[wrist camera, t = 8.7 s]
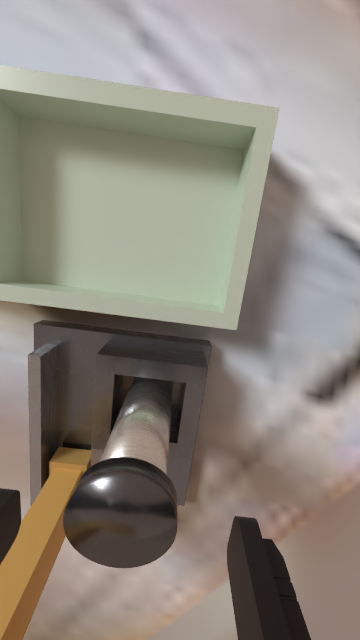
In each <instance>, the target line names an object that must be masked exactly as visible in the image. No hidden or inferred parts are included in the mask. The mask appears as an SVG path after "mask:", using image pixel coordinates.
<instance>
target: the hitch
mask: <svg viewBox="0 0 360 640" xmlns="http://www.w3.org/2000/svg"><path fill="white" fill-rule="evenodd" d="M210 352H211V343H210V341H206V340H198V339H190V338H182V337H174V336H166V335H158V334H150V333H142V332H134V331H126V330H118V329H110V328H102V327H94V326H87V325H79V324H71V323H63V322H55V321H47V320H42V321H40V322H37V323H35V324H34V352H32V353H30V354H29V355H28V383H29V437H30V490H31V506H32V504H33V502H34V501H35V499H36V498H37V496H38V494H39V493H40V491H41V489H42V488H43V486H44V484H45V483H46V481H47V480H48V478H49V462H50V460H51V459H52V457H53V455H54V454H55V452H56V451H57V449H58V448H59V447H66V448H75V449H84V450H91V466H93V465H94V464H96V463H98V462H100V459H101V457H102V454H103V452H104V449H105V447H106V444H107V442H108V440H109V437H110V435H111V432H112V430H113V427H114V425H115V423H116V420H117V418H118V415H119V413H120V410H121V408H122V405H123V403H124V401H125V398H126V396H127V393H128V391H129V388H130V386H131V384H132V381H133V379H134V378H135V377H143V378H151V379H160V380H168V381H171V382H172V386H173V392H172V407H171V422H170V437H169V451H168V466H167V476H168V477H169V478H170V480H171V481H172V483H173V485H174V487H175V489H176V493H177V505H183V506H184V504H185V499H186V493H187V487H188V481H189V475H190V469H191V463H192V458H193V452H194V446H195V440H196V434H197V429H198V423H199V417H200V411H201V405H202V399H203V393H204V388H205V382H206V376H207V370H208V364H209V358H210ZM91 466H90V467H91Z"/></svg>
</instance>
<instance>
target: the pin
mask: <svg viewBox="0 0 360 640" xmlns="http://www.w3.org/2000/svg"><path fill="white" fill-rule="evenodd" d="M172 392H173V386H172V382H171V381H168V380H160V379H151V378H143V377H135V378H134V379H133V381H132V384H131V386H130V388H129V391H128V393H127V396H126V398H125V401H124V403H123V405H122V408H121V410H120V413H119V415H118V418H117V420H116V423H115V425H114V427H113V430H112V432H111V435H110V437H109V440H108V442H107V444H106V447H105V449H104V452H103V454H102V457H101V459H100V462H98V463H96V464H94V465H93V466H91V467H90V468H88V469H87V470H86V471H85V472H84V473H83V474H82V476H81V477H80V479H79V480H78V483H77V485H76V487H75V489H74V491H73V493H72V495H71V497H70V499H69V502H68V504H67V506H66V508H65V511H64V514H63V527H64V532H65V534H66V537H67V539H68V540H69V542H70V543H71V545H72V546H73V547H74V548H75V549H76V550H77V551H78V552H79V553H80V554H82V555H83V556H84V557H86V558H88V559H89V560H91V561H93V562H96V563H98V564H101V565H105V566H109V567H115V568H132V567H138V566H142V565H145V564H148V563H151V562H153V561H155V560H157V559H158V558H160V557H161V556H162V555H163V554H165V553H166V552H167V550H168V549H169V548H170V547H171V545H172V544H173V542H174V539H175V536H176V532H177V493H176V489H175V487H174V485H173V483H172V481H171V480H170V478H169V477H168V476H167V466H168V451H169V437H170V422H171V407H172Z"/></svg>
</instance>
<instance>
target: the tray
mask: <svg viewBox="0 0 360 640" xmlns="http://www.w3.org/2000/svg"><path fill="white" fill-rule="evenodd" d="M278 113H279V108H276V107H270V106H263V105H257V104H250V103H244V102H237V101H231V100H224V99H218V98H211V97H205V96H198V95H192V94H185V93H179V92H172V91H166V90H159V89H153V88H146V87H140V86H133V85H127V84H121V83H114V82H108V81H101V80H95V79H88V78H82V77H75V76H69V75H62V74H56V73H49V72H43V71H36V70H30V69H23V68H17V67H10V66H4V65H0V300H3V301H11V302H19V303H27V304H34V305H42V306H50V307H58V308H66V309H74V310H82V311H89V312H97V313H105V314H113V315H121V316H129V317H136V318H144V319H152V320H160V321H168V322H176V323H184V324H191V325H199V326H207V327H215V328H223V329H231V330H237V325H238V320H239V315H240V310H241V305H242V299H243V294H244V289H245V284H246V279H247V273H248V268H249V263H250V258H251V253H252V248H253V242H254V237H255V232H256V227H257V222H258V217H259V211H260V206H261V201H262V196H263V191H264V185H265V180H266V175H267V170H268V165H269V160H270V154H271V149H272V144H273V139H274V134H275V129H276V123H277V118H278Z"/></svg>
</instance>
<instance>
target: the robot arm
mask: <svg viewBox="0 0 360 640" xmlns="http://www.w3.org/2000/svg"><path fill="white" fill-rule="evenodd" d="M20 525H21V505H20V492H19V491H18V490H10V489H1V488H0V565H1V563H2V561H3V560H4V558H5V556H6V555H7V553H8V551H9V550H10V548H11V546H12V545H13V543H14V541H15V539H16V537H17V535H18V532H19V529H20ZM227 565H228V573H229V580H230V586H231V593H232V600H233V607H234V614H235V621H236V628H237V635H238V640H311V638H310V635H309V632H308V629H307V626H306V624H305V621H304V618H303V615H302V612H301V609H300V606H299V603H298V602H297V599H296V594H295V591H294V588H293V585H292V583H291V582H290V576H289V573H288V570H287V567H286V564H285V561H284V558H283V556H282V555H281V553H280V552H279V550H278V549H277V547H276V545H275V544H274V542H273V541H272V539H263V538H262V535H261V532H260V528H259V525H258V522H257V520H256V519H255V518H247V517H239V516H235V517H234V520H233V525H232V529H231V533H230V537H229V542H228V547H227Z"/></svg>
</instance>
